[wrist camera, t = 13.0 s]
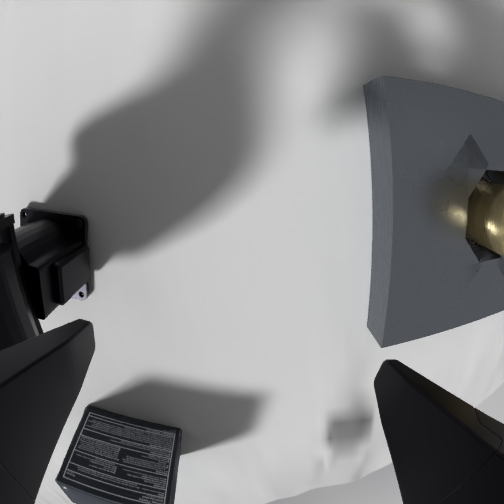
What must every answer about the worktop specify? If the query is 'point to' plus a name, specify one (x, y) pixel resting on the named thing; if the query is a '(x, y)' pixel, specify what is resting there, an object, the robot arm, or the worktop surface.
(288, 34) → the worktop surface
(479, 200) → the cylinder
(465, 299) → the grey octagonal hole plate
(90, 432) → the small box
